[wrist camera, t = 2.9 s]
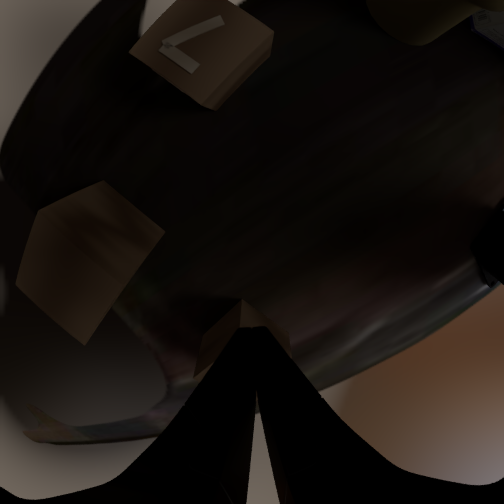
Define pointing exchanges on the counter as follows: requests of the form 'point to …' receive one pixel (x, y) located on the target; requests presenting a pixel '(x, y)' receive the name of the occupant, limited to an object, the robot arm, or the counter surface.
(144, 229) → the plain walnut block
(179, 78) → the walnut cube
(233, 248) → the counter surface
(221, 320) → the walnut cube
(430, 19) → the cork
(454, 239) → the counter surface
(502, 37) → the supplement box
